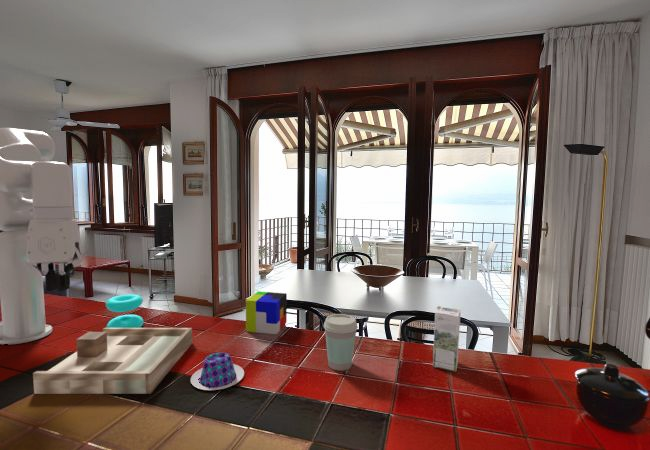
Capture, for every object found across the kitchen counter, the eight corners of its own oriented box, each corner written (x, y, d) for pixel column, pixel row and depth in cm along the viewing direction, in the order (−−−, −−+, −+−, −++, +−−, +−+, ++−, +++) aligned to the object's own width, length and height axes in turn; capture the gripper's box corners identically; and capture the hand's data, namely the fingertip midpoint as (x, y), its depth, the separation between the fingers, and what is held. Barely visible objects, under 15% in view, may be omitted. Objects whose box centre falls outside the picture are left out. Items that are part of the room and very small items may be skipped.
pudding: (228, 361, 90) (228, 341, 89) (254, 379, 81) (253, 358, 80) (182, 377, 81) (181, 356, 81) (204, 400, 73) (204, 376, 72)
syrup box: (458, 362, 90) (460, 308, 89) (456, 373, 85) (459, 315, 83) (435, 357, 92) (437, 304, 91) (432, 367, 87) (434, 311, 86)
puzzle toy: (276, 334, 106) (276, 302, 105) (245, 331, 108) (245, 300, 107) (286, 322, 116) (286, 293, 115) (258, 320, 118) (258, 291, 117)
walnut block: (77, 357, 84) (76, 339, 83) (89, 348, 88) (88, 331, 88) (96, 357, 84) (95, 339, 83) (107, 349, 88) (106, 331, 88)
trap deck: (34, 393, 74) (32, 373, 73) (105, 342, 99) (104, 327, 98) (150, 393, 74) (150, 373, 74) (192, 343, 99) (192, 327, 99)
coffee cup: (363, 364, 88) (364, 319, 87) (341, 377, 82) (342, 328, 81) (338, 353, 94) (338, 310, 93) (316, 365, 88) (316, 319, 86)
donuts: (114, 304, 101) (99, 298, 107) (116, 338, 102) (101, 329, 108) (148, 296, 109) (133, 291, 115) (149, 327, 110) (134, 320, 116)
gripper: (5, 215, 79) (11, 294, 80) (76, 215, 79) (81, 294, 81) (32, 213, 86) (37, 285, 88) (97, 213, 87) (101, 285, 88)
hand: (58, 289), depth 84 cm, fingers closed
